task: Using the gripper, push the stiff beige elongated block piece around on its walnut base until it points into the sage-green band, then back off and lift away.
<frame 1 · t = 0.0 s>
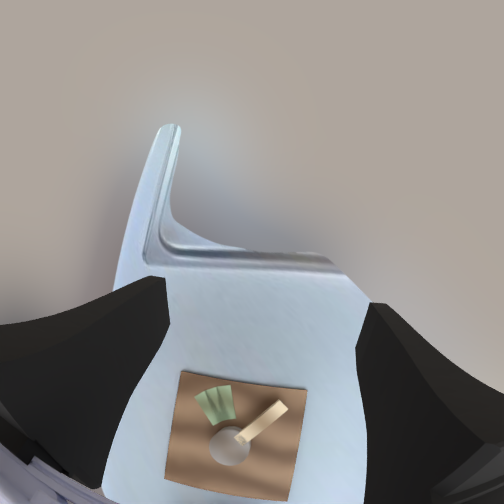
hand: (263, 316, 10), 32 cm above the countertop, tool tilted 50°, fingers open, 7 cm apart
beige elongated block piece: (249, 431, 32), point 4 cm above the countertop, hinge at -40.0°
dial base: (233, 440, 34), on the countertop
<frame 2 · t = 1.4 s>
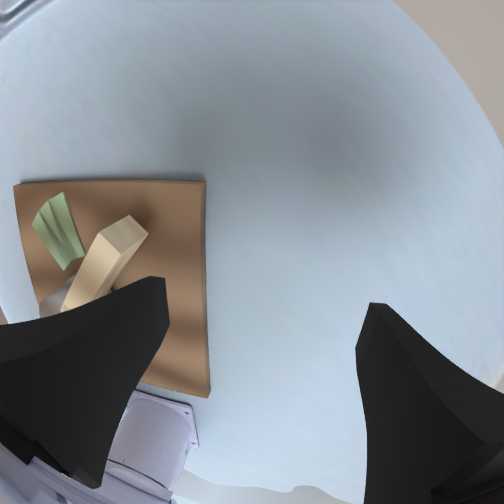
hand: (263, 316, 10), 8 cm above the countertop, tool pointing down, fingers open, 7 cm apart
beige elongated block piece: (92, 289, 17), point 4 cm above the countertop, hinge at -40.0°
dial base: (103, 291, 21), on the countertop
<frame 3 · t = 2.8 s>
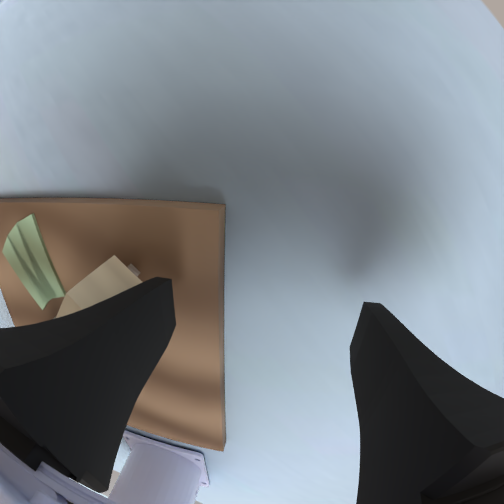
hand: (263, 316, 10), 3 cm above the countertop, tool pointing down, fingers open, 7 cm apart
beige elongated block piece: (74, 346, 12), point 4 cm above the countertop, hinge at -40.0°, touching gripper
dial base: (91, 334, 16), on the countertop
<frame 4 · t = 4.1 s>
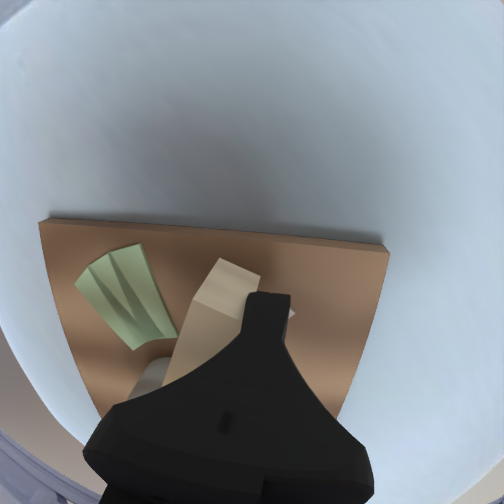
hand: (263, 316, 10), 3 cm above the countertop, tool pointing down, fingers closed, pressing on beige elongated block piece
beige elongated block piece: (188, 382, 11), point 4 cm above the countertop, hinge at -20.2°, touching gripper
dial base: (192, 372, 16), on the countertop
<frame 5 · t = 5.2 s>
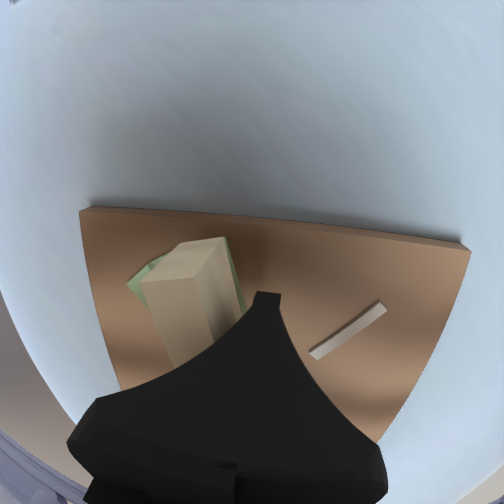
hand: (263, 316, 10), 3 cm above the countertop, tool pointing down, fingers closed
beige elongated block piece: (231, 382, 11), point 4 cm above the countertop, hinge at 13.9°, touching gripper
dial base: (257, 376, 15), on the countertop
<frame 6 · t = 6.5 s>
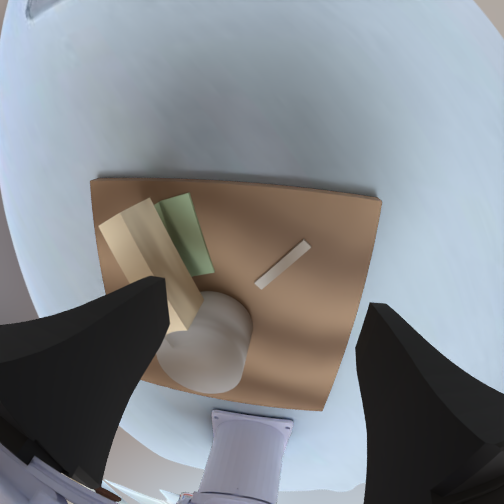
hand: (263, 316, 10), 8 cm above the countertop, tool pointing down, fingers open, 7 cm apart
pill bottle: (194, 495, 41), on the countertop
beige elongated block piece: (180, 299, 16), point 4 cm above the countertop, hinge at 27.4°
black ball on stand: (107, 491, 63), on the countertop
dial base: (220, 311, 20), on the countertop
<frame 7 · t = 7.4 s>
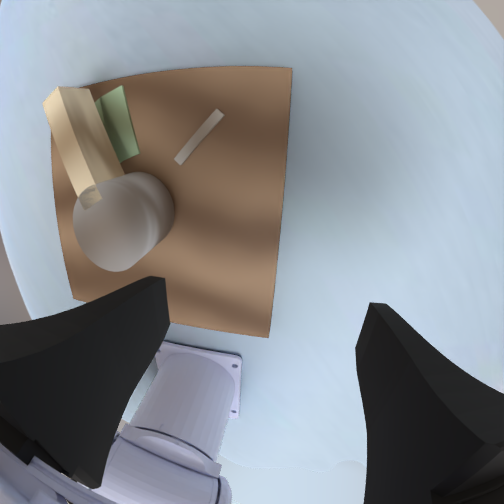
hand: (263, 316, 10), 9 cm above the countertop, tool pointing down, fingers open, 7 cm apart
beige elongated block piece: (101, 171, 15), point 3 cm above the countertop, hinge at 27.7°
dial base: (150, 204, 19), on the countertop
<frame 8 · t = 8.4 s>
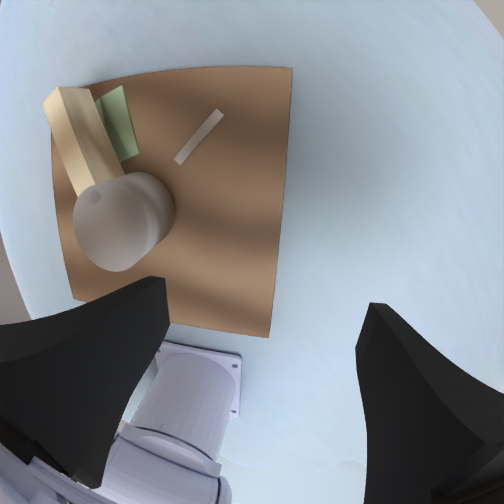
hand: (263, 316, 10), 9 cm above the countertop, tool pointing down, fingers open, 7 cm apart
beige elongated block piece: (101, 171, 15), point 4 cm above the countertop, hinge at 27.7°
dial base: (150, 204, 19), on the countertop
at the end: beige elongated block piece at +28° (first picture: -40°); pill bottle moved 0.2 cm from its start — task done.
